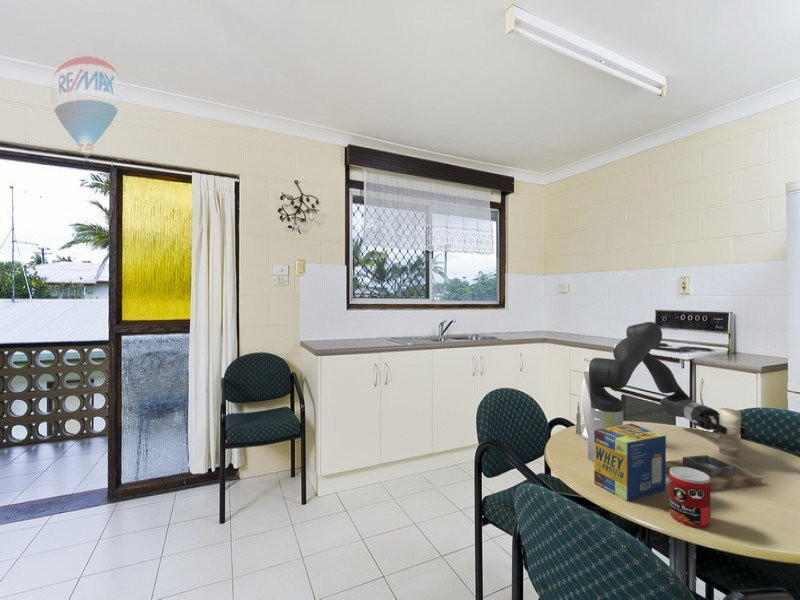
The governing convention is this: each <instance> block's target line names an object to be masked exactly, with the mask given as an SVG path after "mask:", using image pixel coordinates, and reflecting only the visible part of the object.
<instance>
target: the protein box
mask: <svg viewBox="0 0 800 600" xmlns="http://www.w3.org/2000/svg"><path fill="white" fill-rule="evenodd" d="M666 441H667V436H666V435H665V434H662V433H659V432H656V431H654V430H650V429H648V428H645V427H642V426H639V425H636V424H633V423H628V424H623V425H621V426H615V427H609V428H604V429H598V430H594V461H593V464H594V467H593V468H594V470H593V471H594V473H593V474H594V475H593V476H594V477H593V478H594V481H593V482H594V484H595V485H597V486H599V487H600V488H603V490H606V491H608V492H609V493H611V494H613V495H615V496H616V497H619V498H620V499H622V500H624V501H625V502H629V501H632V499H633V500H636V499H639V498H643V497H644V498H645V497H647V495H648V496H650V495H654V494H659V493H663V492H665V491H666V490H667V489H666V487H667V486H666V483H667V482H666V478H667V477H666V475H667V472H666V460H667V456H666V453H667V452H666V449H667V448H666V447H667V446H666V445H667V444H666V443H667V442H666Z"/></svg>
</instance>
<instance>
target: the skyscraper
mask: <svg viewBox="0 0 800 600" xmlns="http://www.w3.org/2000/svg"><path fill="white" fill-rule="evenodd" d="M582 375H583V381H582V385H581V391H580V394H581V395H580V402H579V401H578V402H577V413H576V426H575V429H576V431H575V435H577V436H578V435H579V436H578V437H580V438H581V437H582V439H583V440H584V439H585V440H584V441H588V430H589V429H591V401H590V387H589V366H587V368H586V369H583V370H582ZM580 405H581V410H580ZM580 411H581V412H582V413H581V412H580ZM581 415H582V418H583V425H584V426H583V429H581V428H582V424H581ZM585 437H586V438H585ZM586 439H587V440H586Z"/></svg>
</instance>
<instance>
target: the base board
mask: <svg viewBox="0 0 800 600" xmlns="http://www.w3.org/2000/svg"><path fill="white" fill-rule="evenodd" d="M672 467H687V468H692V469H696V470H699V471H701V472H704V473H705V474H707V475H708V476H709V477H710V484H711V491H717V490H724V489H732V488H733V489H734V488H742V487H746V486H748V487H750V486H757V485H762V482H763V481H762V480H763V478H762V477H763V476H760V475H758V474H755V473H753V472H750V471H747V469H746V470H745V469H743V468H740V467H738V466H736V465H733V464H731V463H729V462H726V461H723V460H722V459H719V458H716V457H714V456H710V455H708V454H700V455H692V456H691V455H690V456H683V457H682V459H678V460H668V461H666V474H669V471H670V468H672Z"/></svg>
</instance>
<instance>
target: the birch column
mask: <svg viewBox="0 0 800 600" xmlns="http://www.w3.org/2000/svg"><path fill="white" fill-rule="evenodd" d="M718 411H719V412H718V413H719V424H720V425H722V426H724V427H726V428H727V434H722V433H720V432H718V435H719V436H718V438H719V439H718V440H719V441H718V443H719V444H718V448H719V449H718V452H719V453H720V454H722V455H723V456H727V457H732V458H733V457H734V458H740V457H741V449H742V447H741V444H742V441H741V435H742V434H741V422H742V417H741V416H742V411H740V410H738V409H734V408H727V407H725V408H724V407H721V408H719V410H718Z"/></svg>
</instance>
